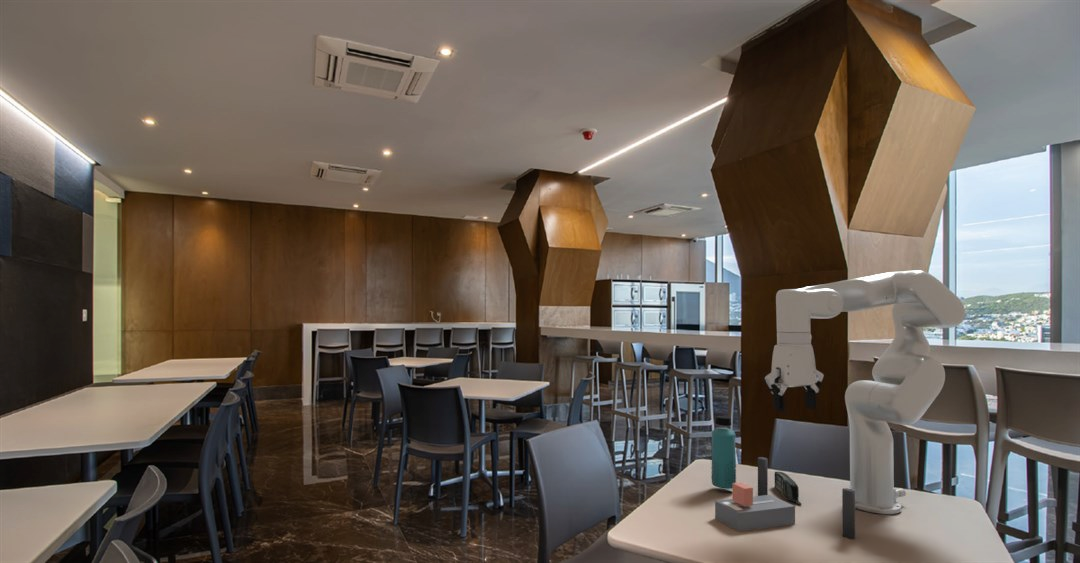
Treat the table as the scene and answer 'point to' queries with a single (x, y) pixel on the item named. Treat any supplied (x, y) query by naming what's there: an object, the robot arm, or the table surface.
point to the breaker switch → (742, 494)
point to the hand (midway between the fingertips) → (795, 409)
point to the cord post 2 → (848, 513)
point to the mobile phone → (787, 487)
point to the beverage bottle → (723, 454)
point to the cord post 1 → (762, 476)
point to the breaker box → (755, 513)
